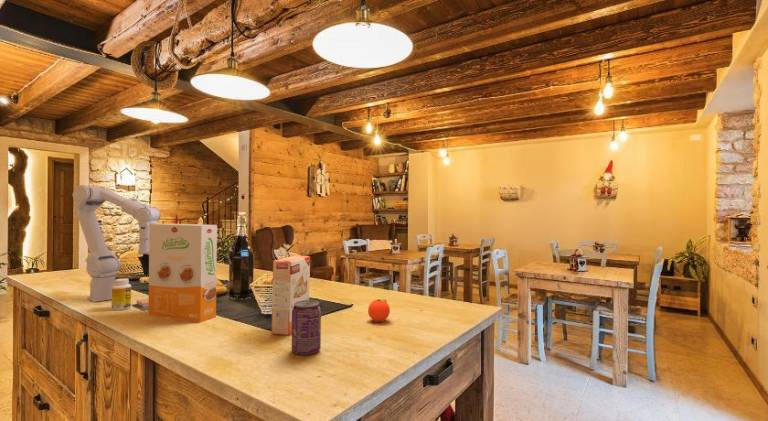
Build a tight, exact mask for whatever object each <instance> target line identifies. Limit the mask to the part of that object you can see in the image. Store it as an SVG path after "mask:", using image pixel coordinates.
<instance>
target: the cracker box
mask: <svg viewBox="0 0 768 421" xmlns="http://www.w3.org/2000/svg"><path fill="white" fill-rule="evenodd" d="M272 262H273V263H272V294H271V295H272V296H271V297H272V298H271V300H272V301H271V302H272V303H271V305H272V306H271V334H272V335H273V334H274V335H283V336H290V335H292V310H293V308H294V303H295V302H298V301H304V300H310V278H311V277H310V276H311V274H310V273H311V256H309V255H291V256H288V257H284V258H280V259H276V260H273V261H272Z"/></svg>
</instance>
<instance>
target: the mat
mask: <svg viewBox="0 0 768 421" xmlns="http://www.w3.org/2000/svg"><path fill="white" fill-rule="evenodd" d="M131 306H133V307H135V308H137V309H138V310H141V311H149V307H146V308H142V307H140V306H138V305H137V303H135V304H134V303H133V304H132V303H131Z"/></svg>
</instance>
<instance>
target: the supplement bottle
mask: <svg viewBox="0 0 768 421" xmlns="http://www.w3.org/2000/svg"><path fill="white" fill-rule="evenodd" d="M129 282H130V280H129V278H117V279H116V278H115V285H114V286H112V299H111V309H112V310H113V311H124V310H128V309H131V307H132V285H131V283H129Z"/></svg>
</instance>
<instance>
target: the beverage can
mask: <svg viewBox="0 0 768 421" xmlns="http://www.w3.org/2000/svg"><path fill="white" fill-rule="evenodd" d="M321 324H322V310H321V307H320V302H319V301H317V300H310V299H309V300H304V301H298V302H295V303H294V308H293V310H292V334H291V351H292V353H293V352H294V353H295V354H296V355H297V354H298V355H301V356H307V355H313V354H315V353H316V352H318V351H320V349H321V346H322V344H321V343H322V337H321V335H322V332H321V331H322V328H321V327H322V325H321Z"/></svg>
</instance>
